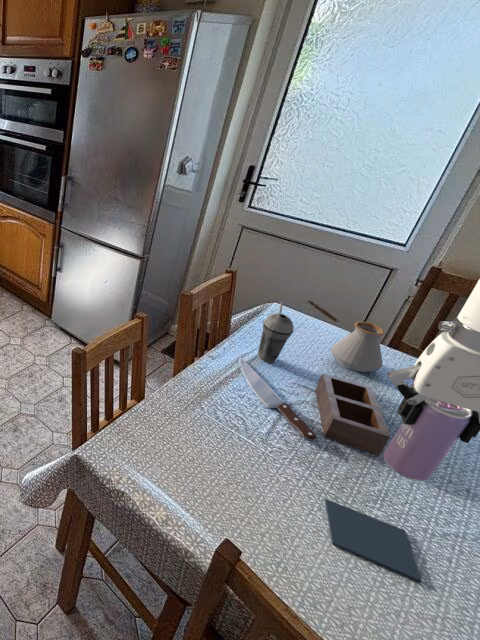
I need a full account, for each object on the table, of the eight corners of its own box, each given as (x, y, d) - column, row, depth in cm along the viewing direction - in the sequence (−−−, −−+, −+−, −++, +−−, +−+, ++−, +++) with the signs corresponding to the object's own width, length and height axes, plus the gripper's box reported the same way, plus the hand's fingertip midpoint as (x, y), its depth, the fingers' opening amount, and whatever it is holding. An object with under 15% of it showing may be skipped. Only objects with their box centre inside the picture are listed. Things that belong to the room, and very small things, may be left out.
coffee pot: (382, 365, 121) (404, 323, 115) (373, 382, 115) (395, 338, 109) (297, 332, 137) (312, 293, 130) (284, 345, 130) (299, 305, 124)
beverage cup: (284, 368, 121) (307, 311, 112) (255, 363, 123) (275, 306, 114) (276, 353, 127) (298, 298, 118) (249, 348, 129) (268, 294, 121)
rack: (315, 389, 113) (322, 372, 110) (362, 403, 108) (372, 386, 105) (324, 437, 99) (333, 418, 96) (379, 455, 94) (390, 437, 91)
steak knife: (297, 442, 97) (300, 436, 96) (224, 359, 125) (226, 354, 124) (317, 443, 97) (320, 437, 96) (240, 360, 125) (241, 355, 124)
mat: (403, 531, 79) (405, 530, 79) (420, 582, 71) (421, 581, 71) (324, 500, 85) (325, 498, 84) (332, 544, 77) (332, 542, 77)
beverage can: (437, 487, 69) (485, 422, 62) (392, 476, 71) (434, 412, 64) (415, 458, 74) (458, 395, 67) (374, 448, 76) (412, 386, 69)
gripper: (415, 333, 62) (367, 421, 69) (598, 374, 53) (521, 469, 61) (401, 310, 67) (359, 393, 75) (565, 343, 59) (498, 433, 67)
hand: (432, 426), depth 68 cm, fingers closed on beverage can, 6 cm apart
